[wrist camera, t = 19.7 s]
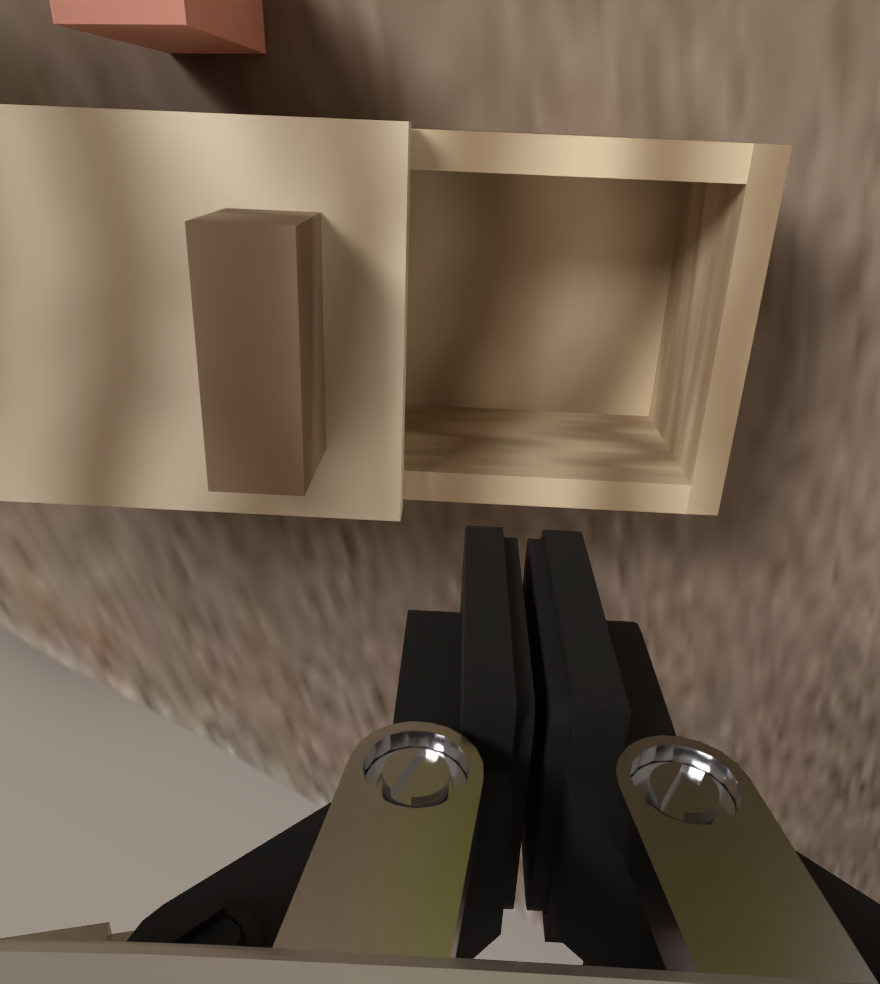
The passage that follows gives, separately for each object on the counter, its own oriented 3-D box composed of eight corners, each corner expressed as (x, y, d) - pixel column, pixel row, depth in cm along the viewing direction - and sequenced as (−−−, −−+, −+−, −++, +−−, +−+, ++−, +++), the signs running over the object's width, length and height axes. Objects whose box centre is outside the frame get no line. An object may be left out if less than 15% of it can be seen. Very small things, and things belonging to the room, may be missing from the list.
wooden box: (62, 404, 39) (-46, 476, 31) (14, 111, 34) (-131, 105, 26) (666, 434, 39) (717, 515, 31) (714, 141, 34) (792, 145, 25)
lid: (-124, 480, 31) (-232, 543, 26) (-229, 94, 26) (-389, 86, 21) (402, 507, 31) (390, 576, 26) (411, 121, 25) (397, 120, 20)
